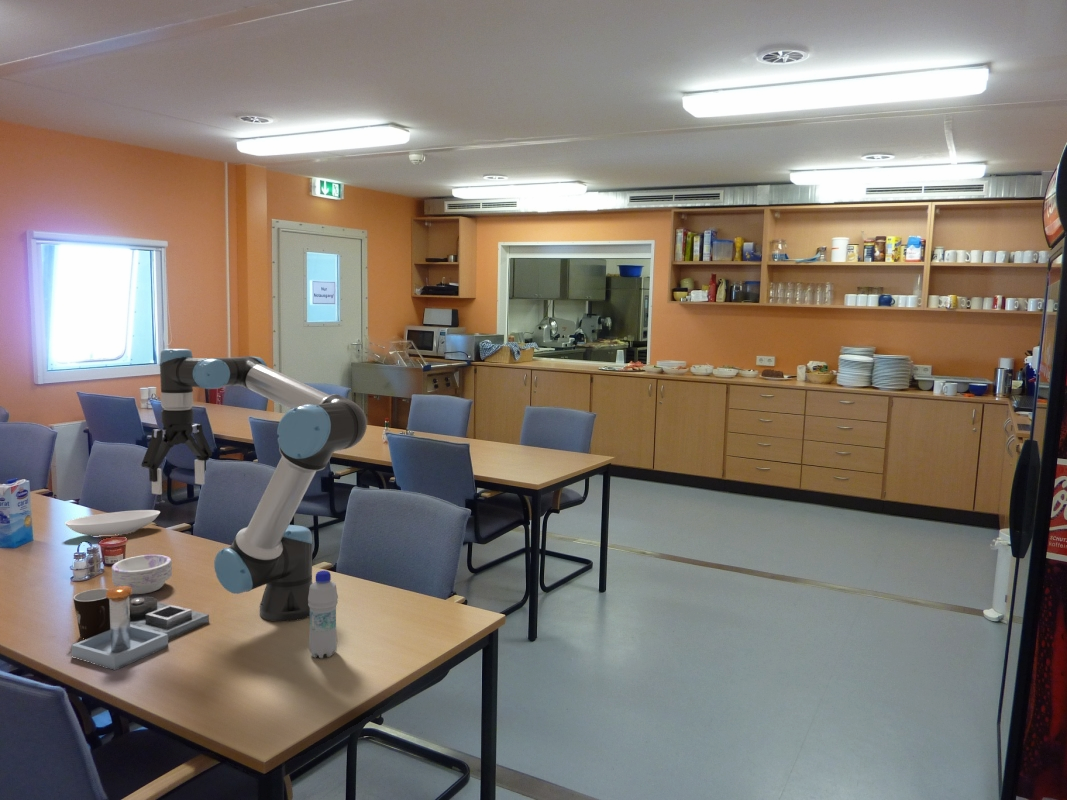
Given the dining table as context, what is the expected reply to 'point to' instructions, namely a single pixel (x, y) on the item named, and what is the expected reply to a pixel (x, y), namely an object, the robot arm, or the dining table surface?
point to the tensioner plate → (164, 616)
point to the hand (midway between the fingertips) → (179, 488)
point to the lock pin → (119, 618)
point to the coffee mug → (92, 612)
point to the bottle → (322, 615)
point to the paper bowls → (142, 573)
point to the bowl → (113, 522)
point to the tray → (101, 654)
